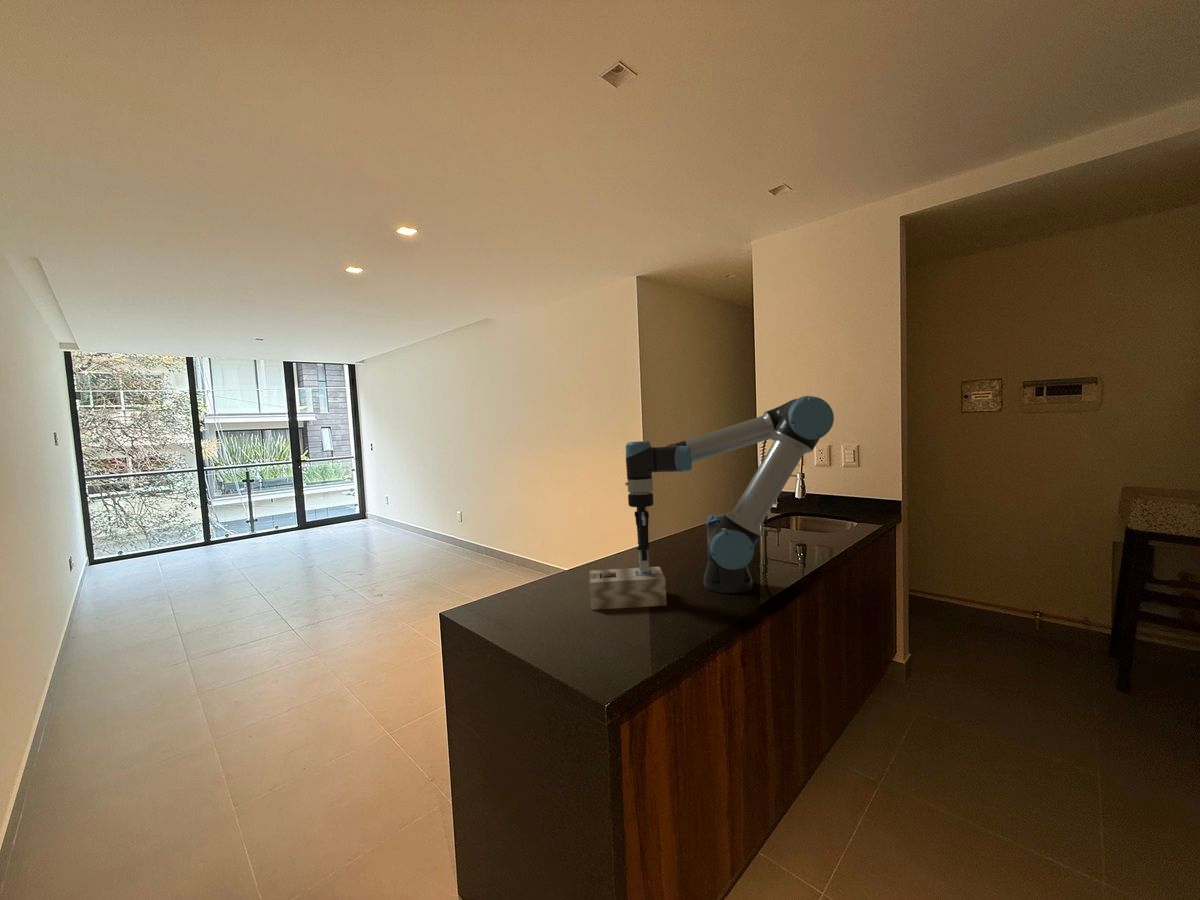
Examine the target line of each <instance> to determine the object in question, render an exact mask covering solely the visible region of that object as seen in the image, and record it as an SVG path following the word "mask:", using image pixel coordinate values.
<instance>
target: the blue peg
mask: <svg viewBox="0 0 1200 900" xmlns="http://www.w3.org/2000/svg"><path fill="white" fill-rule="evenodd" d="M650 575H651V571H638V576H650Z"/></svg>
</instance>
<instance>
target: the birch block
mask: <svg viewBox="0 0 1200 900" xmlns="http://www.w3.org/2000/svg"><path fill="white" fill-rule="evenodd" d="M638 571H640V567H627V568H612V569H611V568H610V569H609V568H607V569H593V570H589V595H590V596H589V598H590V600H589V601H590V610H592V611H595V610H597V611H598V610H610V609H613V610H614V609H626V608H628V609H630V608H631V609H632V608H645V607H646V608H647V607H660V606H661V607H662V606H663V607H664V606H667V604H668V603H667V589H666V588H667V586H666V584H667V583H666V577H665V575H664V573H663V571H662V568H661V567H660V566H649V571H651V575H650V576H638ZM605 572H612V573H614V575H615V577H614V578H601V574H602V573H605Z"/></svg>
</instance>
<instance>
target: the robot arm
mask: <svg viewBox="0 0 1200 900" xmlns="http://www.w3.org/2000/svg"><path fill="white" fill-rule="evenodd" d="M834 415H835V414H834V411H833V409H832V406H830V404H829V403H828V402H827V401H826V400H824V399H823V398H821V397H818V396H812V395H806V396H805V395H804V396H801V397H798V398H794V399H790V400H789V401H787V402H785V403H783V404H781V405H780V406H777V407H774V408H772V409H770V410H766V411H764V412H763V414H762V415H760V416H757V417H755V418H752V419H749V420H745V421H743V422H738V423H736V424H735V423H734V424H733V425H732V424H731V425H729V426H726V427H724V428H720V429H717V430H714V431H710V432H707V433H704V434H701V435H698V436H694V437H691V438H688V439H685V440H682V441H679V442H676V443H670V444H668V445H666V446H659V447H658V446H657V447H656V446H655V447H654V446H652V445H651V442H650V441H648V440H647V441H646V440H645V441H639V440H638V441H629V442H627V443H626V445H625V464H626V465H625V467H626V479H627V482H625V486H627V492H628V495H627V499H628V500H627V502H628V506H629V507H631V508H636V511H634V518H635V525H636V532H637V545H638V546H637V548H636V550H637V551H638V560H639V568H640V571H649V567H650V557H649V549H650V543H649V540H650V539H649V519H650V515H649V512H648V510H647V508H648V507H652V506H653V505H654V494H653V491H654V486H653V485H654V482H653V480H654V479H653V473H668V472H669V473H672V472H674V473H675V472H678V473H681V472H689V471H691V470H692V468H693V463H695V462H698V461H701V460H706V459H708V458H712V457H714V456H715V457H716V456H718V455H721V454H725V453H728V452H730V451H731V452H732V451H735V450H738V449H741V448H742V449H743V448H745V447H748V446H749V447H750V446H752V445H755V444H758V443H761V442H765V441H768V440H771V441H773V442H772V445H771V446H770V448H769V449H768V451H767V453H766V454H765V456H764V458H763V460H762V461H761V463H760V464H759V466H758V468H757V469H756V471H755V472H754V475H753V477H752V478H751V479H750V482H749V484H748V485H747V487H746V488H745V490H744V492H743V493H742V495H741V497H740V498H739V500H738V502H737V503H736V505H735V507H734V508H733V510H731V511H729V512H726V513H725V512H724V514H710V515H708V516H707V517H706V523H705V526H706V539H707V541H706V543H707V565H706V567H705V568H706V569H705V572H704V574H703V586H704V588H705V589H707V590H709V591H712V592H716V593H721V594H739V593H745V592H748V591H750V590H752V588H753V579H752V576H751V573H750V570H749V568H748V565H749V564H750V563H751V561H752V559H753V557H754V552H755V547H756V545H757V543H758V542H759V540H760V538H761V536H762V535H763V533H762V530H761V525H762V524H763V522H765V521H764V520H765V519H766V517H767V515H768V514H769V512H770V511H771V510H772V507H773V506H774V504H775V503H776V500H777V499H778V497H779V496H780V494H781V493H782V491H783V489H784V488H785V486H786V485H787V483H788V481H789V479H790V477H791V476H792V474H793V473H794V471H795V469H796V467H797V466H798V465H799V463H800V461H801V459H802V458H803V456H804V454H807V453H808V454H809V453H812V452H813V451H814V449H815V447H816V446H817V444H818V443H819V440H820V439H821V438H823V437H825V436H826V435H828V433H829V432H830V431H831V429H832V428H833V425H834V422H835V420H834V419H835V416H834Z"/></svg>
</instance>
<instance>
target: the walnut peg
mask: <svg viewBox="0 0 1200 900" xmlns="http://www.w3.org/2000/svg"><path fill="white" fill-rule="evenodd" d="M614 577H615V575H614V573H612V572H605V573H602V574H601V578H614Z"/></svg>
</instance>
